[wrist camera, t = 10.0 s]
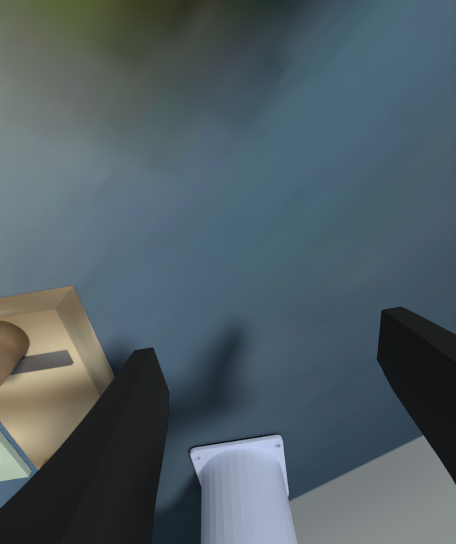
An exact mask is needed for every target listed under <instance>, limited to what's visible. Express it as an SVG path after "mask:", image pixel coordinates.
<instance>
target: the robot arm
mask: <svg viewBox="0 0 456 544" xmlns="http://www.w3.org/2000/svg"><path fill="white" fill-rule="evenodd" d="M377 360H378V362H379V364H380V366H381V368H382V370H383V372H384V374H385V376H386V378H387V380H388V382H389V384H390V386H391V387H392V389H393V391H394V392H395V394H396V395H397V397H398V398H399V400H400V401H401V403H402V404H403V406H404V407H405V409H406V410H407V412H408V413H409V415H410V416H411V418H412V419H413V420H414V422H415V423H416V425H417V426H418V428H419V429H420V431H421V432H422V434H423V435H424V437H425V438H426V439H427V441H428V442H429V444H430V445H431V447H432V448H433V450H434V451H435V453H436V454H437V455H438V457H439V458H440V460H441V461H442V463H443V464H444V466H445V468H446V469H447V471H448V472H449V474H450V475H451V477H452V479H453V481H454V482H455V484H456V335H455V334H454V333H452V332H450V331H448V330H446V329H444V328H442V327H440V326H438V325H436V324H435V323H433V322H431V321H429V320H427V319H425V318H423V317H421V316H419V315H417V314H415V313H413V312H411V311H409V310H407V309H405V308H403V307H397V308H390V309H384V310H382V312H381V322H380V333H379V343H378V353H377ZM168 414H169V390H168V387H167V385H166V382H165V379H164V376H163V373H162V371H161V368H160V365H159V362H158V359H157V356H156V354H155V351H154V348H153V347H152V348H146V349H140V350H134V352H133V353H132V354H131V356H130V357H129V358H128V360H127V361H126V362H125V364H124V365H123V366H122V368H121V369H120V371H119V372H118V373H117V375H116V376H115V377H114V379H113V380H112V382H111V383H110V384H109V386H108V387H107V388H106V390H105V391H104V392H103V394H102V395H101V396H100V398H99V399H98V400H97V402H96V403H95V404H94V406H93V407H92V408H91V410H90V411H89V412H88V413H87V415H86V416H85V417H84V418H83V420H82V421H81V422H80V423H79V424H78V426H77V427H76V428H75V429H74V431H73V432H72V433H71V434H70V435H69V437H68V438H67V439H66V440H65V441H64V443H63V444H62V445H61V446H60V447H59V448H58V450H57V451H56V452H55V453H54V454H53V455H52V456H51V457H50V458H49V460H48V461H47V462H46V463H45V464H44V465H43V466H42V467H41V468H40V469H39V470H38V471H37V472H36V473H35V474H34V476H33V477H32V478H31V479H30V480H29V481H28V482H27V483H26V484H25V485H24V486H23V487H22V488H21V489H20V490H19V491H18V492H17V493H16V494H15V495H14V496H13V497H12V498H11V499H10V500H9V501H8V502H7V503H6V504H5V505H3V506H2V507H1V508H0V544H151V541H152V528H153V518H154V510H155V503H156V497H157V490H158V484H159V478H160V472H161V466H162V460H163V453H164V447H165V441H166V434H167V428H168ZM190 456H191V459H192V462H193V465H194V468H195V470H196V473H197V476H198V479H199V482H200V484H201V487H202V504H201V544H297V541H296V535H295V530H294V526H293V521H292V516H291V511H290V506H289V501H288V495H289V492H288V483H287V475H286V466H285V458H284V449H283V441H282V437H281V436H280V435H271V436H265V437H259V438H252V439H246V440H240V441H233V442H227V443H221V444H214V445H208V446H201V447H195V448H192V449H191V450H190Z"/></svg>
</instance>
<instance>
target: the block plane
mask: <svg viewBox="0 0 456 544" xmlns="http://www.w3.org/2000/svg"><path fill="white" fill-rule="evenodd" d="M114 377H115V376H114V374H113V371H112V369H111V367H110V365H109V363H108V360H107V358H106V356H105V354H104V352H103V350H102V347H101V345H100V343H99V341H98V339H97V336H96V334H95V332H94V330H93V328H92V326H91V323H90V321H89V319H88V317H87V315H86V313H85V310H84V308H83V306H82V304H81V302H80V299H79V297H78V295H77V293H76V291H75V289H74V286H67V287H61V288H56V289H50V290H44V291H38V292H32V293H26V294H20V295H14V296H8V297H2V298H0V421H1V423H2V424H3V425H4V427H5V428H6V429H7V430H8V432H9V433H10V434H11V436H12V437H13V438H14V439H15V441H16V442H17V443H18V445H19V446H20V447H21V448H22V450H23V451H24V452H25V454H26V455H27V456H28V457H29V459H30V460H31V461H32V463H33V464H34V465H35V466H36V468H37V469H38V470H39V469H40V468H41V467H42V466H43V465H44V464H45V463H46V462H47V461H48V460H49V458H50V457H51V456H52V455H53V454H54V453H55V452H56V451H57V450H58V448H59V447H60V446H61V445H62V444H63V443H64V441H65V440H66V439H67V438H68V437H69V435H70V434H71V433H72V432H73V431H74V429H75V428H76V427H77V426H78V424H79V423H80V422H81V421H82V420H83V418H84V417H85V416H86V415H87V413H88V412H89V411H90V410H91V408H92V407H93V406H94V404H95V403H96V402H97V400H98V399H99V398H100V396H101V395H102V394H103V392H104V391H105V390H106V388H107V387H108V386H109V384H110V383H111V382H112V380H113V379H114Z"/></svg>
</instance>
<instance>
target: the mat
mask: <svg viewBox="0 0 456 544" xmlns="http://www.w3.org/2000/svg"><path fill="white" fill-rule="evenodd" d="M31 471H32V470H31V469H30V468H29V467H28V465H27V464H26V463H25V462H24V460H23V459H22V458H21V457H20V455H19V454H18V453H17V452H16V450H15V449H14V448H13V447H12V445H11V444H10V443H9V441H8V440H7V439H6V438H5V436H4V435H3V434H2V433H1V431H0V481H4V480H10V479H17V478H23V477H29V475H30V473H31Z"/></svg>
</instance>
